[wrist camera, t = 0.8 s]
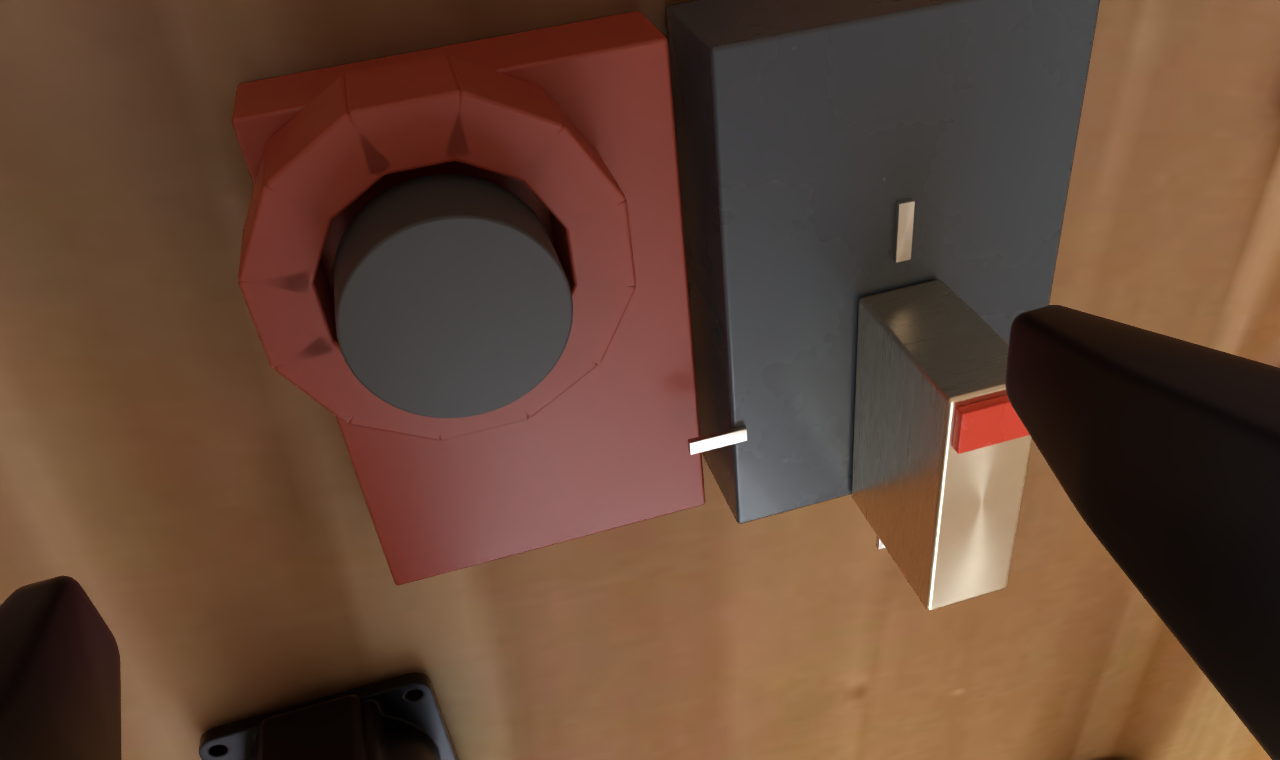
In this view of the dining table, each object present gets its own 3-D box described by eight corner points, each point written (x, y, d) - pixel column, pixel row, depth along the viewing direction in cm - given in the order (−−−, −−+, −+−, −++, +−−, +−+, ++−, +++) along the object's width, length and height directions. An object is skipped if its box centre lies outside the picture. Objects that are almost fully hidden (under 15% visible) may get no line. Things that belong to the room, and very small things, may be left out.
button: (567, 340, 20) (587, 389, 19) (366, 387, 19) (370, 442, 18) (536, 152, 18) (556, 192, 16) (304, 198, 17) (304, 245, 16)
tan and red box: (922, 478, 26) (1013, 597, 23) (850, 497, 26) (932, 621, 22) (940, 276, 22) (1052, 382, 19) (857, 296, 22) (956, 408, 19)
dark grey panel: (993, 432, 30) (1056, 500, 28) (668, 518, 29) (703, 598, 26) (1064, -69, 22) (1163, -36, 19) (612, 14, 20) (655, 62, 18)
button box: (683, 457, 28) (732, 559, 24) (372, 537, 26) (382, 655, 23) (638, -14, 20) (700, 44, 17) (202, 63, 19) (182, 142, 16)
